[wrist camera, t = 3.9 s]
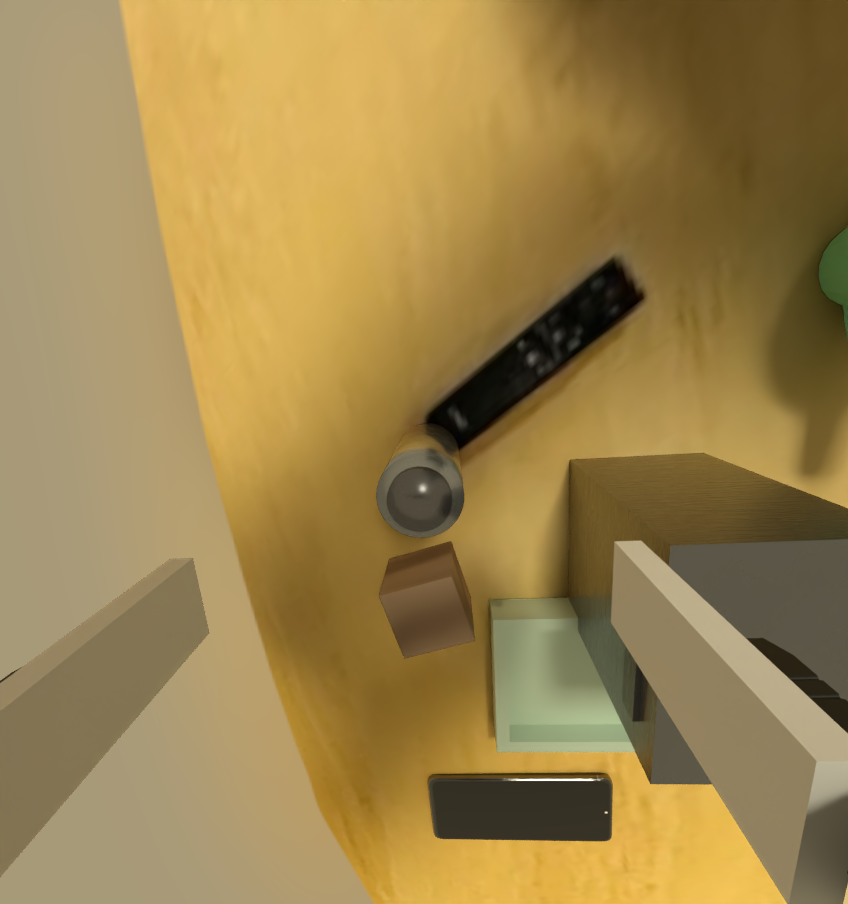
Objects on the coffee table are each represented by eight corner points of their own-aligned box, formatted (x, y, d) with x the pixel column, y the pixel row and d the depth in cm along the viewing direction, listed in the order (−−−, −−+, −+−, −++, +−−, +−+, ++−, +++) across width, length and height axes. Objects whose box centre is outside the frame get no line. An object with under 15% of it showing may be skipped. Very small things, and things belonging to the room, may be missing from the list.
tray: (489, 599, 31) (492, 620, 29) (648, 595, 30) (665, 616, 28) (493, 723, 34) (497, 752, 31) (639, 722, 33) (654, 752, 31)
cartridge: (395, 425, 28) (369, 460, 19) (457, 421, 28) (462, 455, 19) (400, 484, 29) (378, 544, 20) (460, 481, 29) (466, 541, 20)
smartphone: (426, 779, 35) (613, 780, 34) (427, 767, 36) (609, 767, 35) (434, 841, 37) (612, 843, 35) (434, 827, 38) (608, 830, 36)
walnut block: (389, 558, 31) (378, 596, 26) (450, 540, 30) (451, 576, 25) (410, 612, 32) (404, 658, 27) (470, 596, 31) (475, 640, 26)
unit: (565, 460, 28) (662, 545, 16) (711, 452, 27) (936, 535, 15) (563, 608, 31) (644, 784, 18) (695, 605, 30) (873, 785, 18)
